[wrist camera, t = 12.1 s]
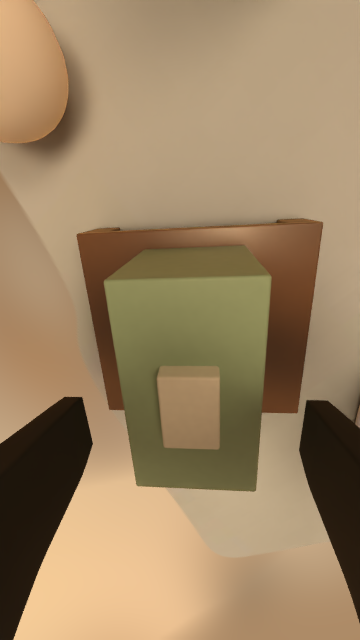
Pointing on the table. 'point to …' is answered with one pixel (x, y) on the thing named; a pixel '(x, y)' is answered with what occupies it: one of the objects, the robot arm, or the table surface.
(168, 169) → the table surface
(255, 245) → the brown wooden base
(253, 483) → the tissue box
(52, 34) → the egg
